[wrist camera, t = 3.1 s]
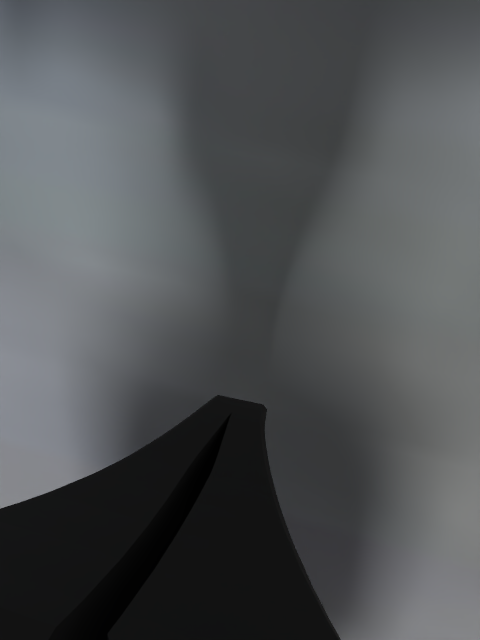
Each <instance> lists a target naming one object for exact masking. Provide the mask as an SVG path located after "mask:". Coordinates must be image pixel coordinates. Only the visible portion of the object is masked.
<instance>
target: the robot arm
mask: <svg viewBox="0 0 480 640" xmlns="http://www.w3.org/2000/svg"><path fill="white" fill-rule="evenodd" d="M266 412H267V409H266V408H265V406H264V405H262V404H258V403H253V402H248V401H243V400H239V399H234V398H229V397H224V396H220V395H217V396H216V397H214V398H213V399H211V400H210V401H209V402H207V403H206V404H205V405H204V406H202V407H201V408H200V409H198V410H197V411H196V412H194V413H193V414H192V415H190V416H189V417H188V418H186V419H185V420H184V421H182V422H181V423H179V424H178V425H177V426H175V427H174V428H172V429H171V430H170V431H168V432H167V433H165V434H164V435H162V436H161V437H159V438H157V439H156V440H154V441H153V442H151V443H149V444H148V445H146V446H145V447H143V448H141V449H140V450H138V451H137V452H135V453H133V454H131V455H130V456H128V457H126V458H124V459H122V460H120V461H118V462H116V463H114V464H112V465H110V466H108V467H106V468H104V469H102V470H100V471H98V472H96V473H94V474H92V475H89V476H87V477H85V478H82V479H80V480H77V481H75V482H73V483H70V484H68V485H65V486H63V487H61V488H58V489H56V490H53V491H51V492H48V493H45V494H43V495H40V496H37V497H34V498H31V499H29V500H26V501H23V502H20V503H17V504H14V505H11V506H7V507H4V508H1V509H0V640H341V639H340V637H339V636H338V634H337V632H336V630H335V629H334V627H333V625H332V623H331V621H330V620H329V618H328V616H327V614H326V612H325V610H324V608H323V606H322V604H321V602H320V600H319V598H318V596H317V594H316V592H315V591H314V589H313V586H312V584H311V582H310V580H309V578H308V575H307V573H306V571H305V569H304V566H303V564H302V562H301V560H300V558H299V555H298V553H297V551H296V549H295V547H294V544H293V542H292V539H291V536H290V534H289V531H288V528H287V526H286V523H285V520H284V517H283V514H282V511H281V508H280V505H279V502H278V499H277V495H276V492H275V488H274V484H273V480H272V476H271V472H270V467H269V462H268V456H267V449H266V442H265V428H264V426H265V419H266Z"/></svg>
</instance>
